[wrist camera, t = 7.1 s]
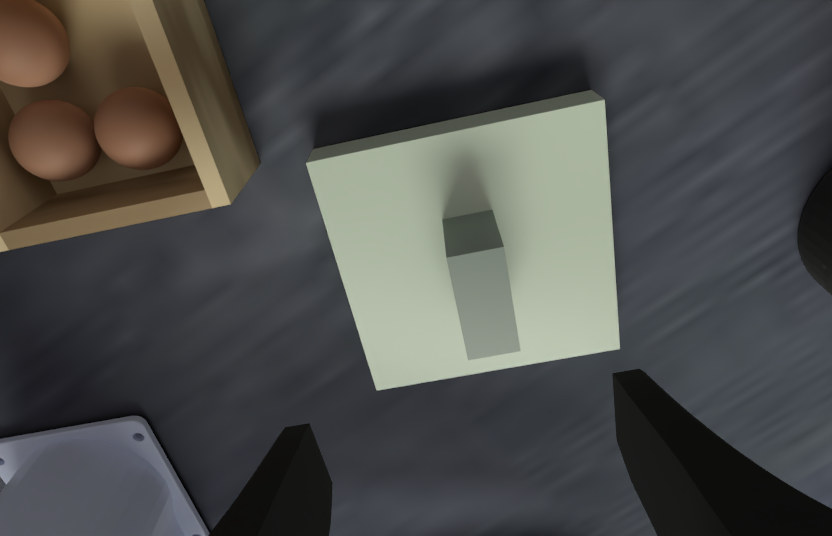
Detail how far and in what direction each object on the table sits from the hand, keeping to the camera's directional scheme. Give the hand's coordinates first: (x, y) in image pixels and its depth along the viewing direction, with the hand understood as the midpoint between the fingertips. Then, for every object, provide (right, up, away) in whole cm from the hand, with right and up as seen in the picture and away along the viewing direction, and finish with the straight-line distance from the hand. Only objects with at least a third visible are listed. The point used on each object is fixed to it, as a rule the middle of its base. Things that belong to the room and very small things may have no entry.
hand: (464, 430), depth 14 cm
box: (-12, +10, +6) cm, 17 cm away
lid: (+1, +5, +9) cm, 10 cm away
